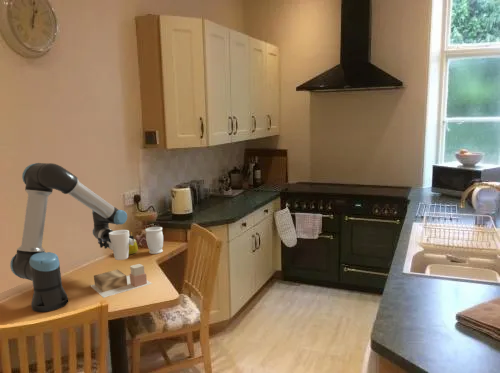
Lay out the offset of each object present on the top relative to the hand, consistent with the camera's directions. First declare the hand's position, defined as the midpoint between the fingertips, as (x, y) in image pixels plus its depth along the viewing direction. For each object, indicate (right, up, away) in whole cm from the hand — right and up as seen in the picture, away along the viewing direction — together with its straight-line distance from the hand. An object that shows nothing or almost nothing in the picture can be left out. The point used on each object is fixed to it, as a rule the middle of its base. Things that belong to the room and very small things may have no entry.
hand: (122, 244), depth 209 cm
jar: (+3, -13, +61) cm, 62 cm away
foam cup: (-2, -7, +4) cm, 8 cm away
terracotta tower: (+7, -20, +4) cm, 21 cm away
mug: (-14, -14, +64) cm, 66 cm away
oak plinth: (-7, -20, +4) cm, 22 cm away
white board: (-2, -22, +4) cm, 22 cm away
